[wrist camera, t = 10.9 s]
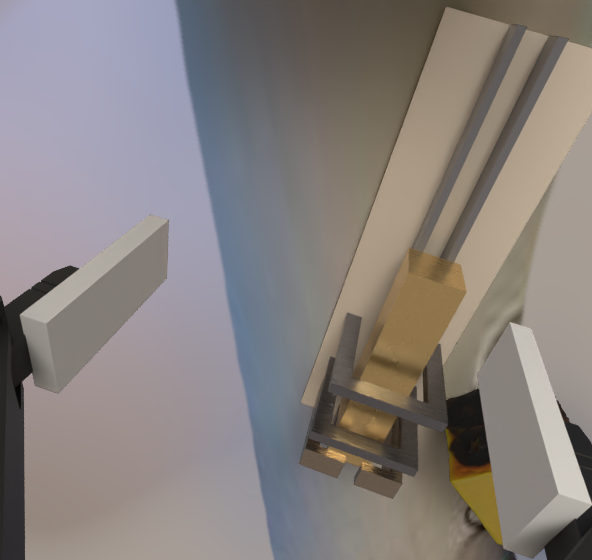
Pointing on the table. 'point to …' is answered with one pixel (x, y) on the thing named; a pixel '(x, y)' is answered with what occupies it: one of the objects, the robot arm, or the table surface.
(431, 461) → the table surface
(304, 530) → the table surface
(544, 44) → the long cream board
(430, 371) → the collar
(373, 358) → the long golden plank
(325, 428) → the collar
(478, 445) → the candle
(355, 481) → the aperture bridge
